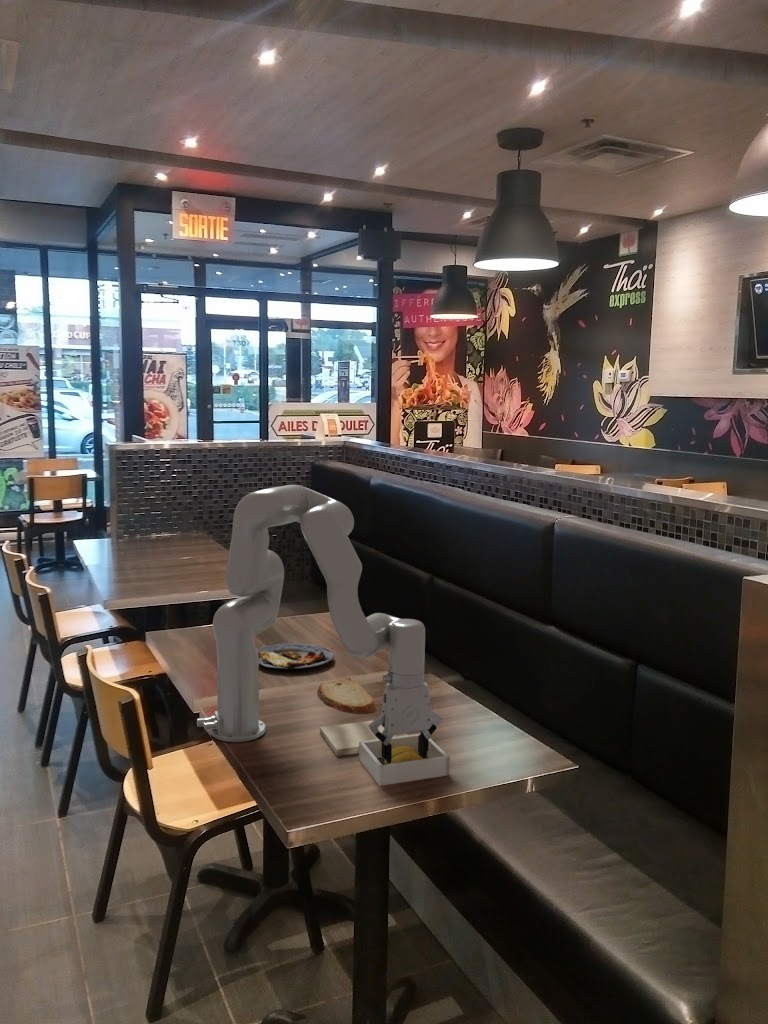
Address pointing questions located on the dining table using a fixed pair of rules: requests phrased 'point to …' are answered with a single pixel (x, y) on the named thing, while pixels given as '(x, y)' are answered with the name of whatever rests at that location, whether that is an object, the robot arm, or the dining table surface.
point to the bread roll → (404, 755)
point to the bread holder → (404, 770)
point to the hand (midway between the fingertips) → (404, 756)
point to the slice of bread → (346, 696)
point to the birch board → (349, 736)
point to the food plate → (293, 656)
